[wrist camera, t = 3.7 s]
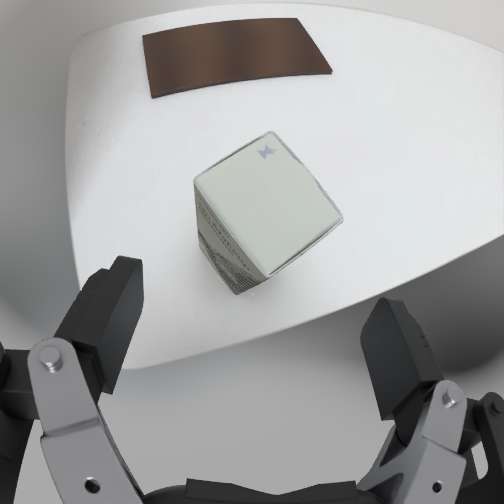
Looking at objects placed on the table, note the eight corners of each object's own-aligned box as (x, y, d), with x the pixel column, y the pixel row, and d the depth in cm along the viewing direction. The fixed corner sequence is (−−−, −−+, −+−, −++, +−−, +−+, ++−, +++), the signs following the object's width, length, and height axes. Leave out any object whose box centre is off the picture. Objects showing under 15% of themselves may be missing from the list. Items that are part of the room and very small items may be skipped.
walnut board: (151, 98, 26) (151, 95, 26) (142, 38, 28) (142, 35, 27) (331, 73, 30) (332, 70, 29) (296, 21, 31) (297, 17, 31)
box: (197, 245, 24) (182, 172, 11) (241, 214, 25) (269, 122, 12) (237, 299, 23) (266, 283, 11) (281, 266, 24) (350, 216, 12)
